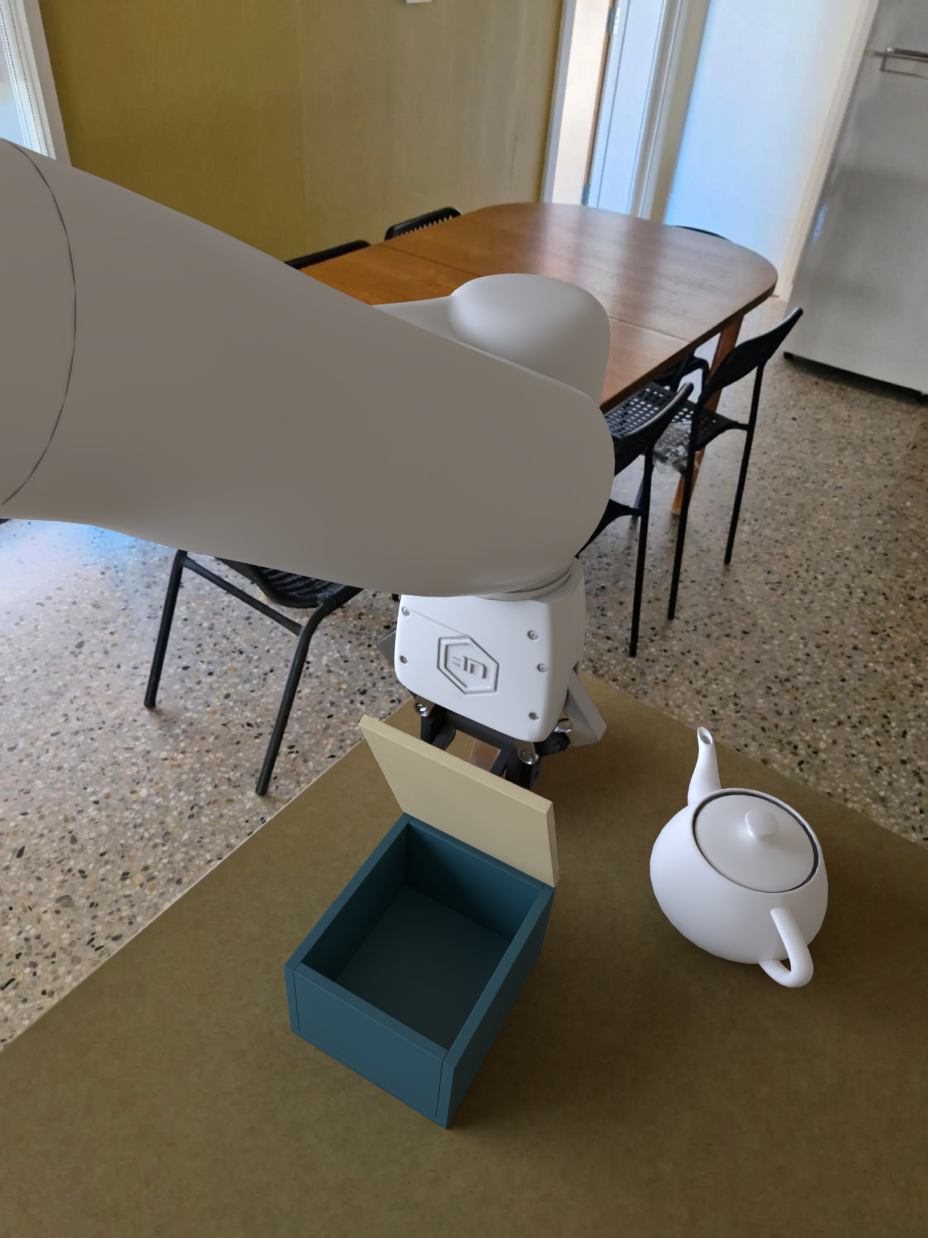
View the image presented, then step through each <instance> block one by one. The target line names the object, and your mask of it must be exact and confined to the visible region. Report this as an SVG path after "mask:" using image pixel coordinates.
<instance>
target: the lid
mask: <svg viewBox="0 0 928 1238" xmlns="http://www.w3.org/2000/svg"><path fill="white" fill-rule="evenodd" d="M358 727H359V728H360V731H361V732H362V734H363V736H364V738H365V740H366V742H367V744H368V747H369V748H370V750H371V752H372V754H373V756H374V758H375V761H377V763H378V766H379V768H380V770H381V771H382V773H383V776H384V778H385V779H386V781H387V783H388V785H389V788H390V789H391V791H392V793H393V795H394V797H395V799H396V801H397V803H398V805H399V807H400V808H401V811H402V813H404V812H405V813H407V814H409V815H411V816H413V817H415V818H417V819H419V820H421V821H423V822H425V823H427V824H429V825H431V826H433V827H435V828H437V829H439V830H441V831H443V832H445V833H447V834H449V835H451V836H453V837H455V838H457V839H459V840H461V841H463V842H465V843H467V844H469V845H471V846H473V847H475V848H477V849H478V850H480V851H482V852H484V853H486V854H488V855H490V856H492V857H494V858H496V859H498V860H500V861H502V862H504V863H506V864H508V865H510V866H512V867H514V868H516V869H518V870H520V871H522V872H524V873H526V874H528V875H530V876H532V877H534V878H536V879H538V880H540V881H542V882H544V883H546V884H548V885H550V886H552V887H554V888H555V887H556V888H557V884H558V882H559V881H560V870H559V869H560V868H559V857H558V846H557V836H556V824H555V814H554V813H555V812H554V803H553V801H552V800H549V798H548V799H547V798H545V797H543V796H541V795H539V794H537V793H535V792H533V791H531V790H528V789H526V788H522V787H520V786H518V785H516V784H513V783H511V782H509V781H507V780H505V779H503V778H501V777H502V776H503V774H504V772H505V770H506V768H507V761H508V758H509V756H510V755H511V753H512V752H513V751H514V749H515V748H516V745H515V740H514V737H511V736H509V735H507V734H504V733H502V732H499V731H497V730H495V729H492V728H490V727H488V726H485V725H483V724H481V723H479V722H476V721H474V720H472V719H469V718H467V717H465V716H463V715H460V714H458V713H456V712H454V711H452V710H449V709H447V710H446V713H445V716H444V725H443V727H442V728H441V730H440V732H439V734H438V735H437V737H436V739H435V740H434V742H433V744H432V745H430V744H428V743H426V742H424V741H423V740H421V739H419V738H417V737H415V736H413V735H411V734H409V733H407V732H405V731H403V730H401V729H398V728H397V727H394V726H392V725H390V724H388V723H385V722H383V721H381V720H379V719H377V718H375V717H372V716H370V715H369V714H366V713H364V714H363V716H362V718H361V720H360V721H359V723H358ZM455 731H456V732H457V731H458V732H460V733H463V734H465V735H467V736H470V737H472V738H474V739H475V738H476V739H478V740H480V741H482V742H485V743H487V744H489V745H491V746H493V747H496V748H498V749H500V750H501V751H500V753H499V755H498V757H497V758H496V760H495V762H494V764H493V766H492V768H491V769H490V771H489V772H488V771H486V770H484V769H481V768H479V767H477V766H475V765H473V764H471V763H469V761H466V760H465V759H462V758H461V757H458V756H456V755H454V754H453V753H452V754H451V753H449V752H447V751H446V750H445V748H446V747H447V745H448V743H449V741H450V740H451V738H452V736H453V735H454V733H455ZM447 748H448V747H447ZM444 750H445V751H444Z"/></svg>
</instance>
